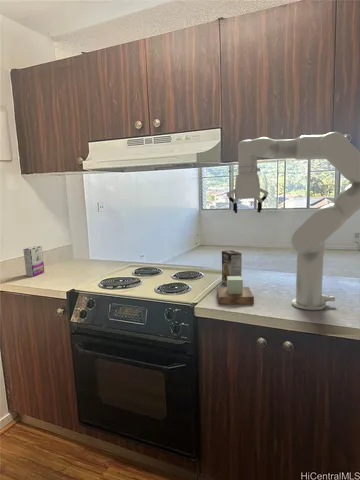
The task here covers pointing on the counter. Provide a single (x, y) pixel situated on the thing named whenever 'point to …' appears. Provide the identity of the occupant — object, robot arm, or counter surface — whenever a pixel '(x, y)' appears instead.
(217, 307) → the counter surface
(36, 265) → the candy bar box
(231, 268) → the coffee box
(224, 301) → the walnut base
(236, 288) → the sage block
